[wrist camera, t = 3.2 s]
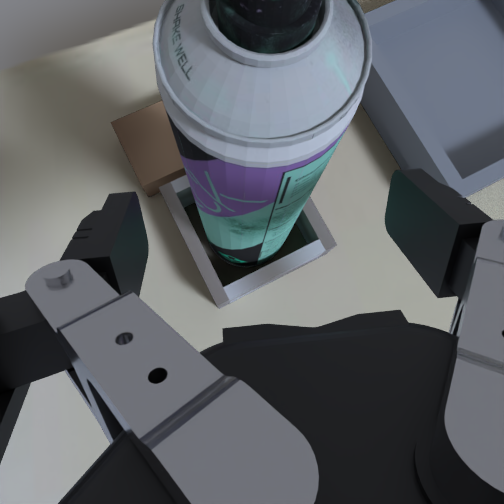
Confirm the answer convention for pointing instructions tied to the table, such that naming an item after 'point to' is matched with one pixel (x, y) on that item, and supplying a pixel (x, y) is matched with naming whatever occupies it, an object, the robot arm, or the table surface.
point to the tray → (440, 88)
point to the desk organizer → (180, 195)
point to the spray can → (258, 108)
